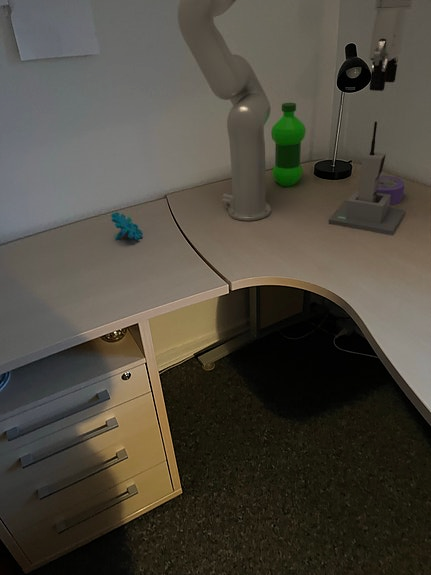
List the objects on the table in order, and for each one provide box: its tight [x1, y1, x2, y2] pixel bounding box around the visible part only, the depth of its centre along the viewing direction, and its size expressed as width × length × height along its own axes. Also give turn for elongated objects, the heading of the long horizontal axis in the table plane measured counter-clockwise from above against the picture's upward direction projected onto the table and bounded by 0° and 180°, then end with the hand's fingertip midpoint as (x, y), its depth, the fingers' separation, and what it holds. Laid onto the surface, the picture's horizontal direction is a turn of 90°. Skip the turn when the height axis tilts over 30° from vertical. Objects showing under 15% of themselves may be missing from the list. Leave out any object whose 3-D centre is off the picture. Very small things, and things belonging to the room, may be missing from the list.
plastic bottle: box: [271, 102, 306, 187], centre depth 147 cm, size 10×10×25 cm
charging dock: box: [328, 189, 406, 236], centre depth 127 cm, size 17×14×6 cm
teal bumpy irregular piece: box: [110, 211, 143, 241], centre depth 128 cm, size 11×6×10 cm
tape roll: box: [377, 174, 405, 206], centre depth 139 cm, size 12×12×5 cm
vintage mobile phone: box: [357, 121, 387, 203], centre depth 121 cm, size 4×5×25 cm
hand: (382, 86), depth 110 cm, fingers open, 9 cm apart
